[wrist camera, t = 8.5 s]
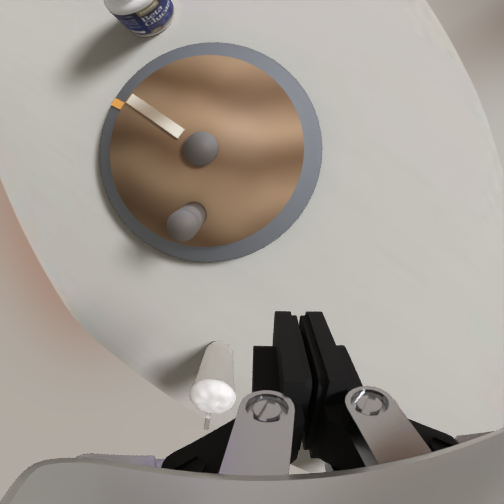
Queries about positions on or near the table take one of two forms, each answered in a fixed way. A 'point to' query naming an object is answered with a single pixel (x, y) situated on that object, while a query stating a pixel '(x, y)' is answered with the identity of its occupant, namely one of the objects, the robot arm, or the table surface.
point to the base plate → (295, 202)
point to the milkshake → (214, 381)
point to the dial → (206, 150)
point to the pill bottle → (142, 15)
